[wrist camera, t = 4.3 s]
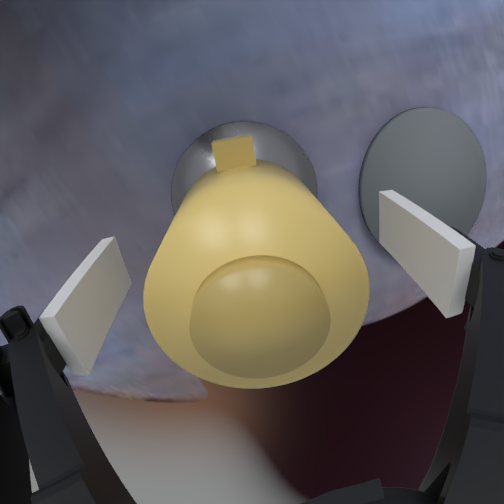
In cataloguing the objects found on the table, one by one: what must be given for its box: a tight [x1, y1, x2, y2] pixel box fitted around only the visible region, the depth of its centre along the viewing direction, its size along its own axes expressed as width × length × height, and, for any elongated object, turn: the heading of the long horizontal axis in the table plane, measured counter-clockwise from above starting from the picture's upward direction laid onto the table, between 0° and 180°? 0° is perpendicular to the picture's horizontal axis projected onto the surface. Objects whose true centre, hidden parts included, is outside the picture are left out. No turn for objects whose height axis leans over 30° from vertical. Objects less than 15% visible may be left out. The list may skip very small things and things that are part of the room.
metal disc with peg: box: [171, 121, 317, 215], centre depth 19 cm, size 10×10×7 cm
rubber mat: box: [359, 107, 486, 242], centre depth 22 cm, size 13×13×1 cm
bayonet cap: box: [143, 134, 370, 389], centre depth 12 cm, size 7×9×8 cm
